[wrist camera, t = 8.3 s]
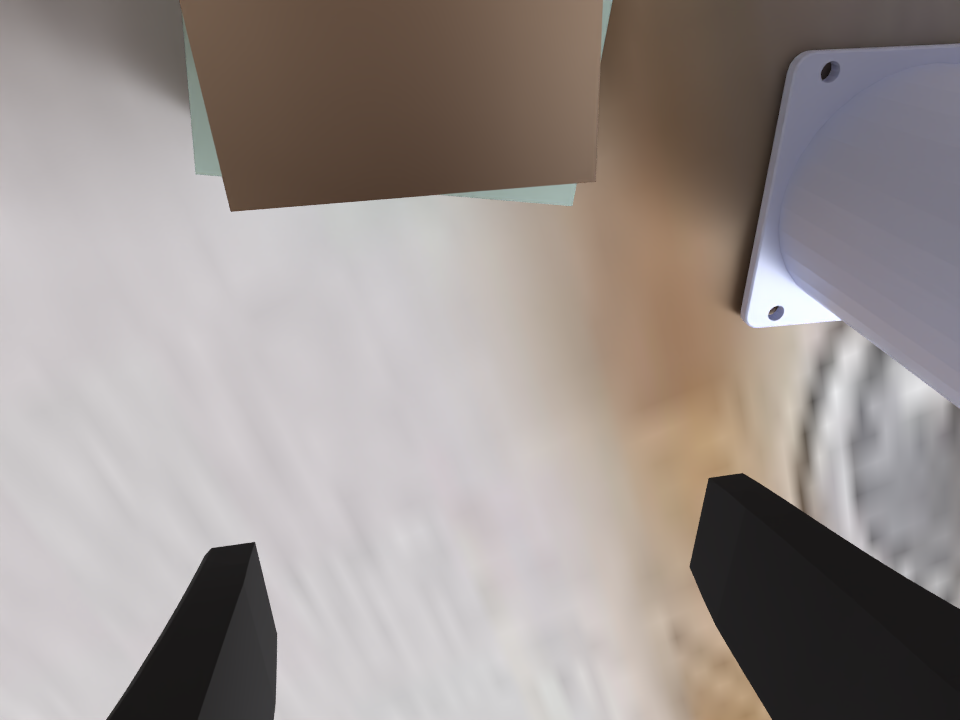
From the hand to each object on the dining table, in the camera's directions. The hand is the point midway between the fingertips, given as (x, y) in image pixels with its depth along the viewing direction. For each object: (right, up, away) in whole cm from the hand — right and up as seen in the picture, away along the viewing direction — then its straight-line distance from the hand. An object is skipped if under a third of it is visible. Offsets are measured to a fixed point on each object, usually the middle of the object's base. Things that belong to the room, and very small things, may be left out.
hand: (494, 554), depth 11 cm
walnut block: (-2, +10, +2) cm, 10 cm away
